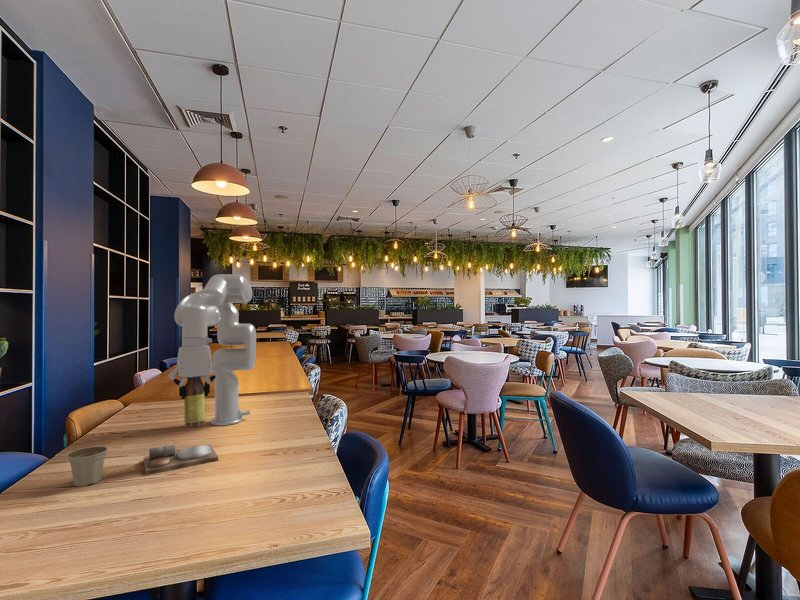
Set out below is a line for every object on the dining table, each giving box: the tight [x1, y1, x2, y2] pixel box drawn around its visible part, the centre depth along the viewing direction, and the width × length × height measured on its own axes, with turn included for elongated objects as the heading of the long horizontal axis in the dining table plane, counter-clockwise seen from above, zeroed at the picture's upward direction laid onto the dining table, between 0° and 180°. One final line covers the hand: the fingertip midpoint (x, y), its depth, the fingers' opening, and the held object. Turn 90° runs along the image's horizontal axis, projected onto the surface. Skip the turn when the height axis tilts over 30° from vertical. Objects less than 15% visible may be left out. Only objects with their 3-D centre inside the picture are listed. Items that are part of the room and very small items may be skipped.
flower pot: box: [66, 445, 109, 487], centre depth 117 cm, size 9×9×9 cm
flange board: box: [143, 444, 219, 476], centre depth 133 cm, size 20×14×4 cm
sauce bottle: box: [183, 377, 206, 429], centre depth 136 cm, size 7×6×20 cm
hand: (194, 396), depth 136 cm, fingers closed on sauce bottle, 6 cm apart
